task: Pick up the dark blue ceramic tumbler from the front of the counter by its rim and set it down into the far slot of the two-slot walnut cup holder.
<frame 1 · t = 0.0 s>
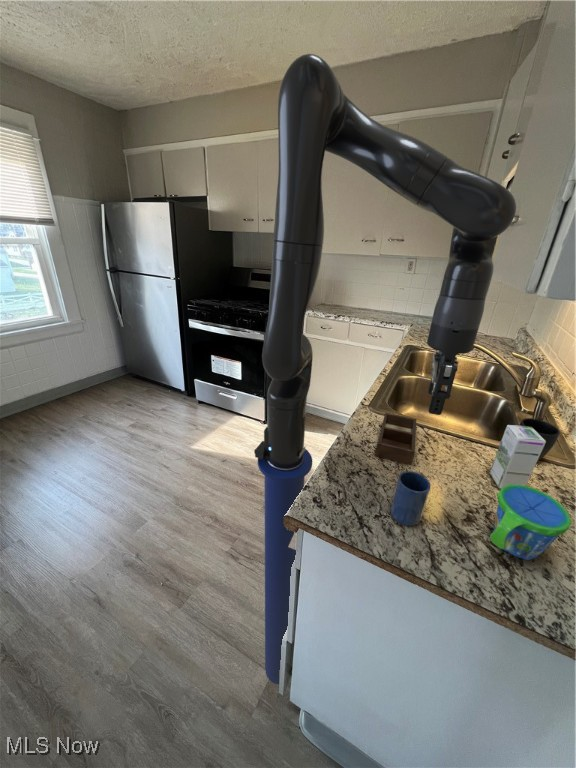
hand: (433, 403, 62), 23 cm above the counter, tool pointing down, fingers open, 8 cm apart
mug: (519, 455, 86), on the counter
snack cup: (514, 544, 60), on the counter
syrup box: (505, 482, 76), on the counter
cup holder: (395, 442, 89), on the counter
tumbler: (405, 514, 66), on the counter
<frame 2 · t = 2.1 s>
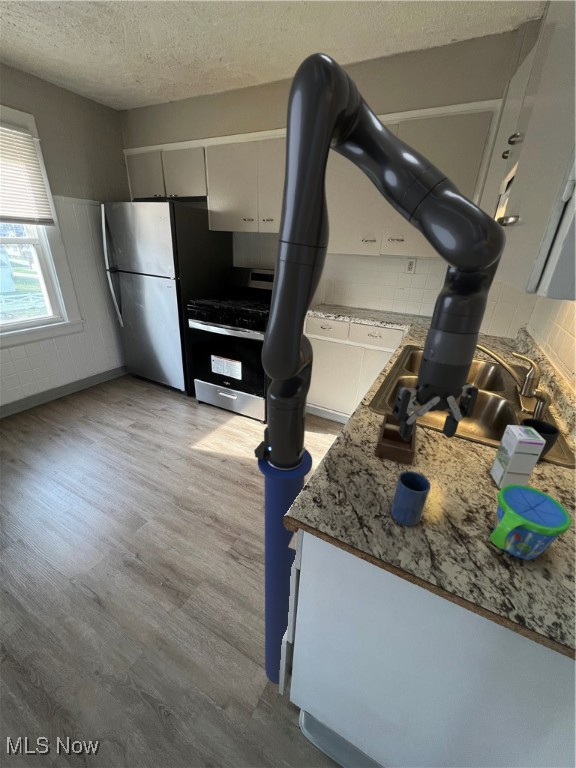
hand: (426, 436, 58), 19 cm above the counter, tool pointing down, fingers open, 8 cm apart
nothing on the counter moved.
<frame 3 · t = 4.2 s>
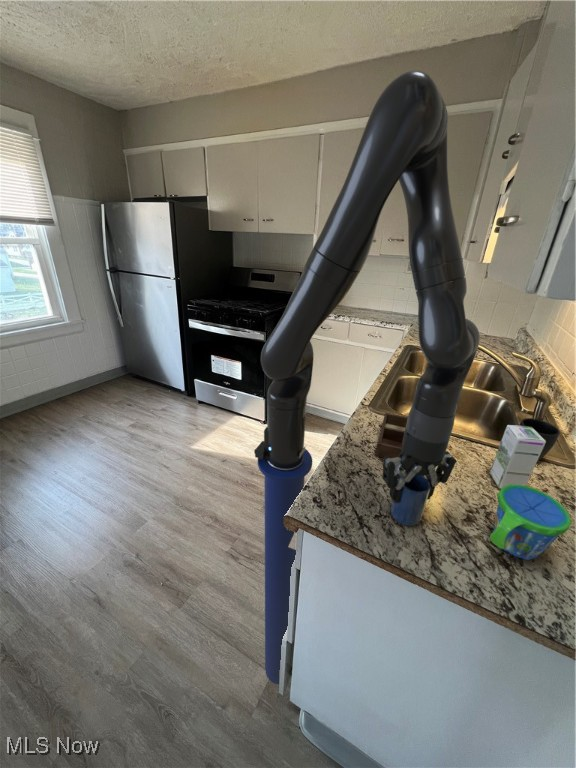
hand: (409, 497, 64), 5 cm above the counter, tool pointing down, fingers closed on tumbler, 6 cm apart
tumbler: (405, 514, 66), on the counter, touching gripper
everything else where it was.
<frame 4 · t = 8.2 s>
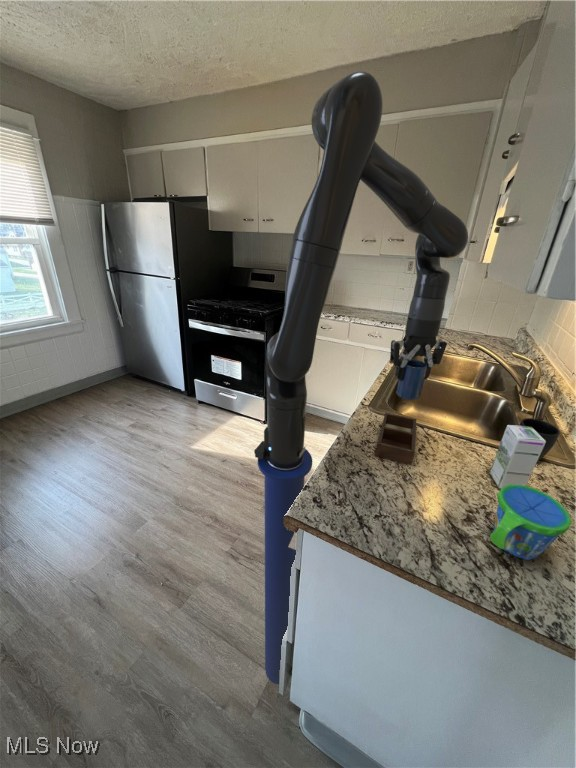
hand: (411, 378, 82), 19 cm above the counter, tool pointing down, fingers closed on tumbler, 6 cm apart
tumbler: (408, 394, 84), point 15 cm above the counter, touching gripper
everything else where it was.
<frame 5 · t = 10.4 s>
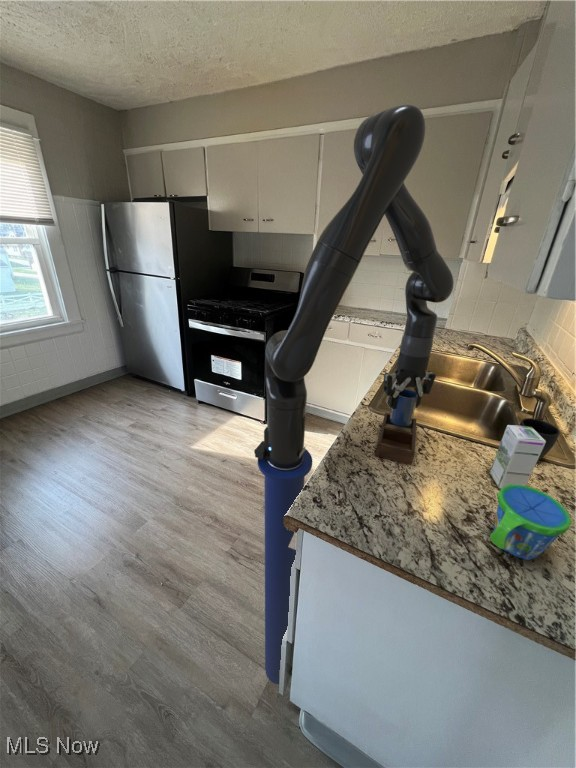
hand: (403, 406, 89), 10 cm above the counter, tool pointing down, fingers closed on tumbler, 6 cm apart
tumbler: (400, 420, 91), point 5 cm above the counter, touching gripper
everything else where it was.
when the fingers open (5 cm above the counter, at t = 12.1 s): tumbler stays where it is, resting on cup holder.
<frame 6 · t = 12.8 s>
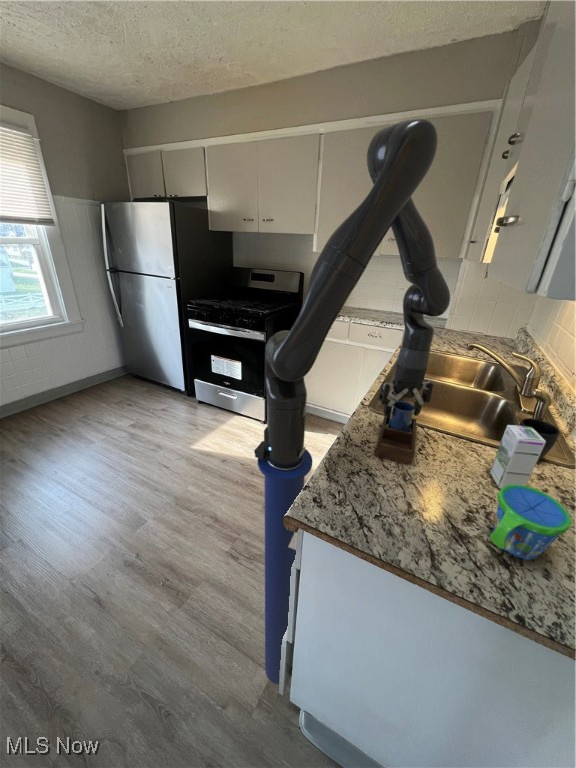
hand: (400, 415, 90), 7 cm above the counter, tool pointing down, fingers open, 8 cm apart
tumbler: (397, 432, 92), point 1 cm above the counter, touching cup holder
everything else where it was.
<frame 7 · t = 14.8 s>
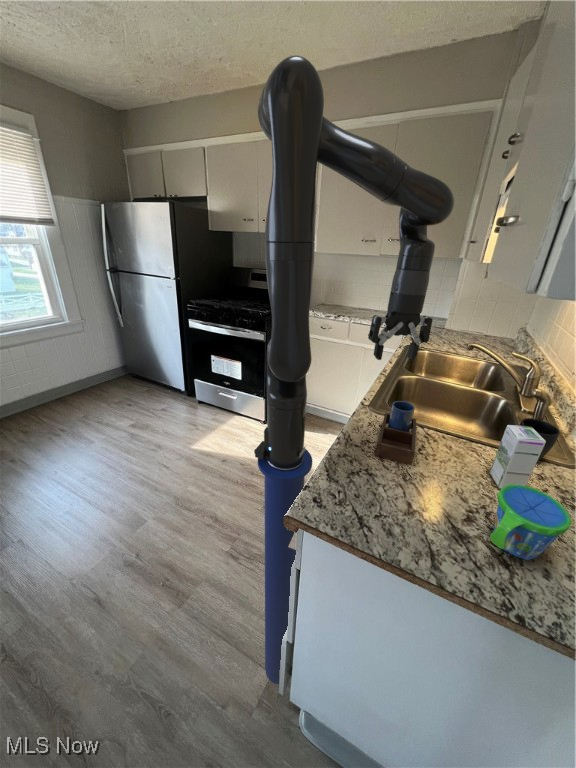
hand: (394, 358, 77), 26 cm above the counter, tool pointing down, fingers open, 8 cm apart
nothing on the counter moved.
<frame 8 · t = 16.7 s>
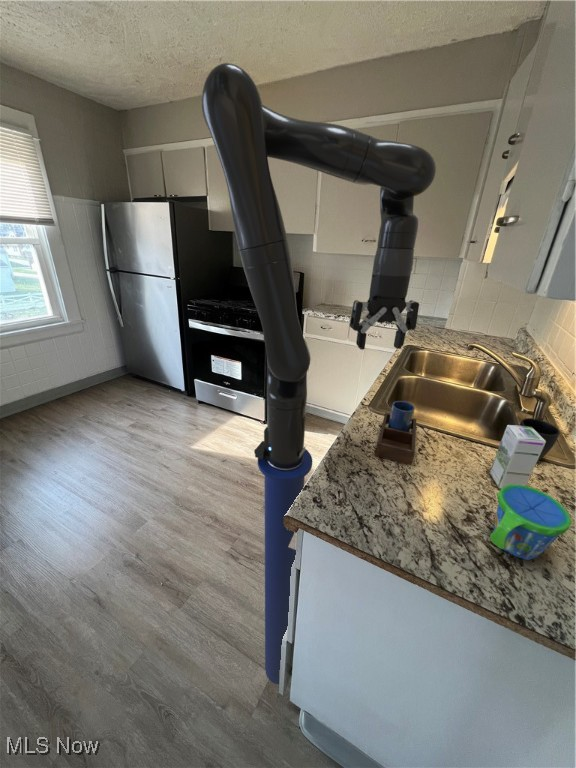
hand: (379, 348, 70), 30 cm above the counter, tool pointing down, fingers open, 8 cm apart
nothing on the counter moved.
at the end: tumbler 0.1 cm from the target spot in the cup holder, point 0.8 cm above the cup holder's base; tumbler tilted 0°; the gripper is holding nothing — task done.
